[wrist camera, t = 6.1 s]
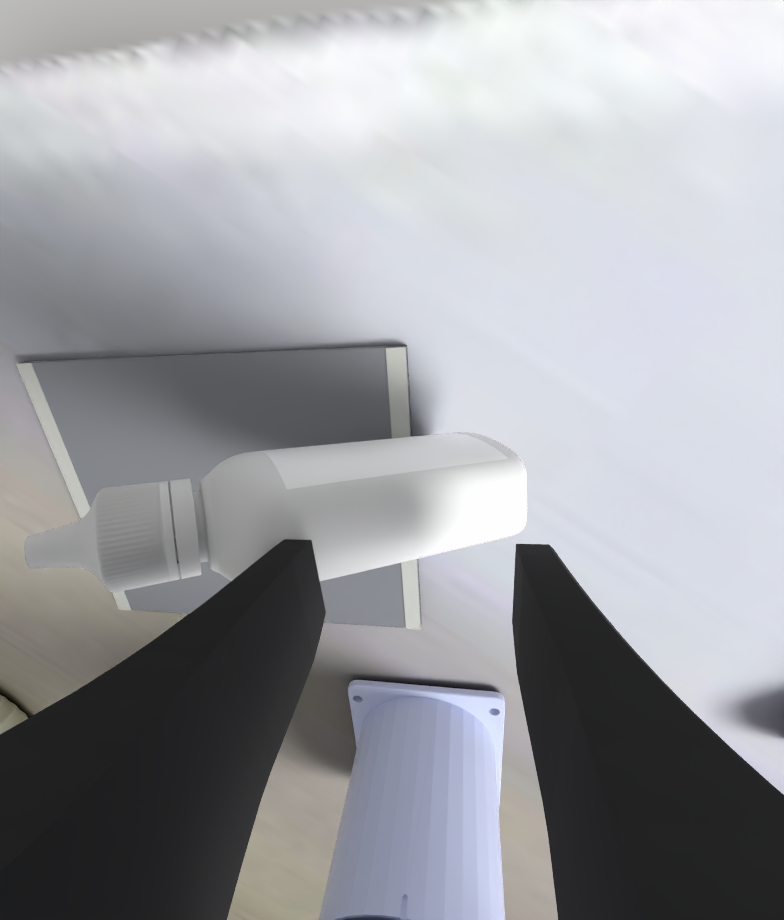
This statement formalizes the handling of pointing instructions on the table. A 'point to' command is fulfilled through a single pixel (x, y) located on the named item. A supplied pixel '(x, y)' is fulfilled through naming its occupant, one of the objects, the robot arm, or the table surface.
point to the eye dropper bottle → (299, 511)
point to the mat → (225, 441)
